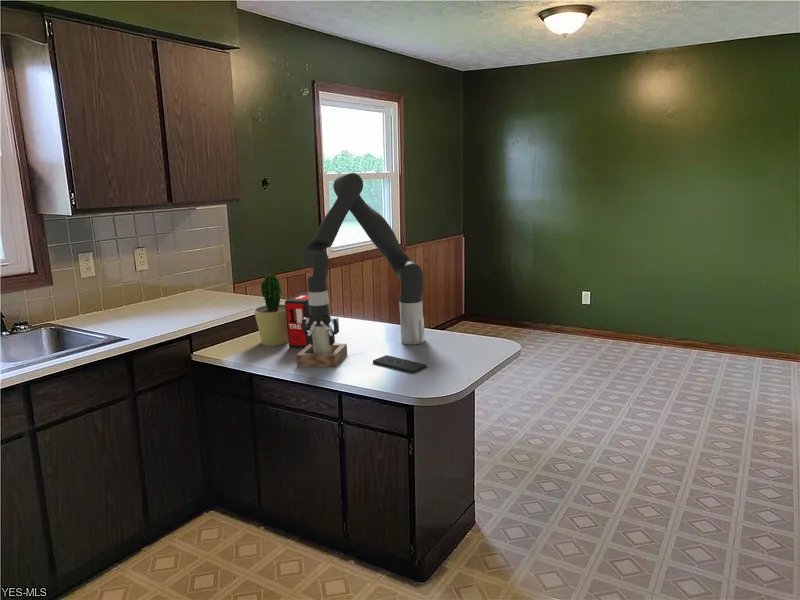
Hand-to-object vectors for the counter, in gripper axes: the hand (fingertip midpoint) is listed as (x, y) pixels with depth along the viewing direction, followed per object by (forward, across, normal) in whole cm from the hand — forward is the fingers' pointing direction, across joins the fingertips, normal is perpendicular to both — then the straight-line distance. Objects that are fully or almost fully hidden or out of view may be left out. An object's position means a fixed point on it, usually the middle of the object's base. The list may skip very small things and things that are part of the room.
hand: (322, 344), depth 229 cm
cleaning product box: (+7, +14, -22) cm, 27 cm away
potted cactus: (+6, +29, -23) cm, 38 cm away
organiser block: (+6, 0, 0) cm, 6 cm away
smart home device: (+7, -30, +4) cm, 31 cm away
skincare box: (+5, 0, 0) cm, 5 cm away
